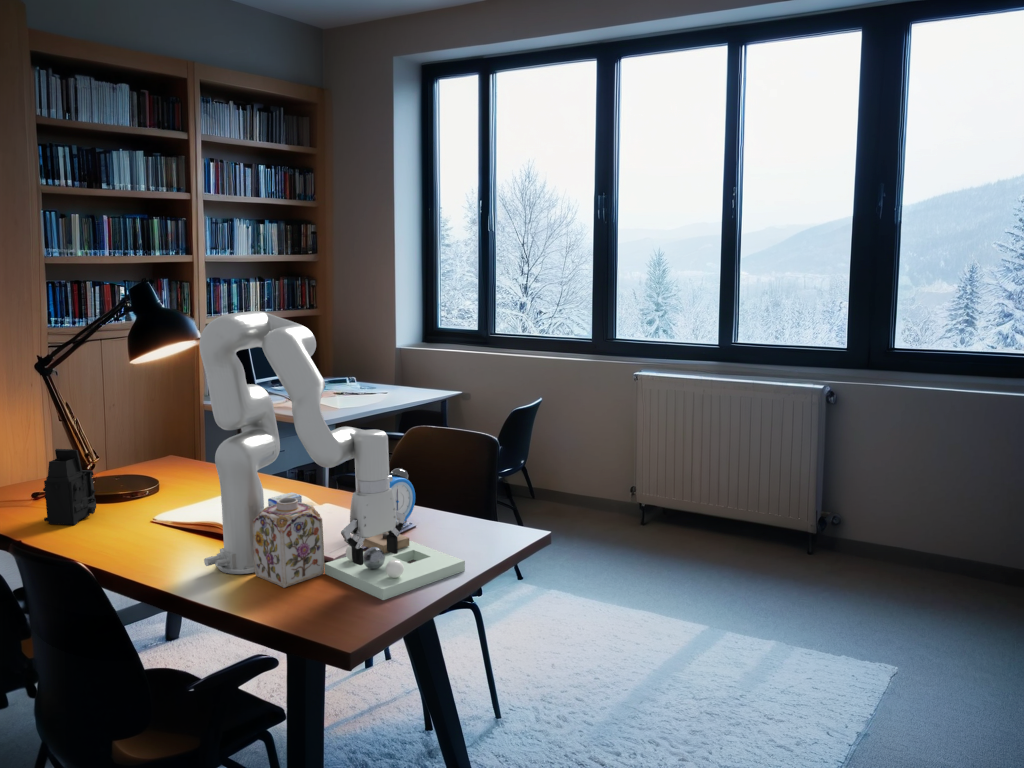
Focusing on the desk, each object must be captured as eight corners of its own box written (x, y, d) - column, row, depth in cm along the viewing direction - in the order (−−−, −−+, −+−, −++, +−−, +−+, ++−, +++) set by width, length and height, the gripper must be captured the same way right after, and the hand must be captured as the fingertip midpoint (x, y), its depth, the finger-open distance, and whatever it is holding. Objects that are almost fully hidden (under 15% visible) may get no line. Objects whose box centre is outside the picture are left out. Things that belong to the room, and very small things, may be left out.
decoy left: (352, 564, 199) (352, 548, 198) (342, 560, 201) (342, 544, 201) (366, 560, 201) (366, 544, 201) (356, 556, 204) (356, 540, 204)
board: (383, 600, 185) (383, 589, 184) (324, 573, 200) (324, 563, 199) (464, 570, 202) (464, 560, 202) (405, 548, 217) (405, 538, 217)
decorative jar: (295, 562, 207) (293, 490, 204) (326, 574, 200) (323, 499, 197) (252, 576, 198) (249, 501, 195) (282, 589, 191) (279, 511, 188)
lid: (383, 553, 205) (383, 541, 205) (363, 545, 210) (362, 533, 210) (409, 545, 211) (409, 533, 210) (389, 537, 216) (388, 526, 216)
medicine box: (293, 522, 237) (291, 491, 236) (303, 525, 235) (302, 494, 233) (268, 529, 231) (267, 498, 230) (278, 532, 229) (277, 501, 227)
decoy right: (393, 582, 188) (393, 564, 188) (382, 577, 191) (381, 560, 190) (407, 577, 191) (407, 560, 191) (396, 572, 194) (396, 555, 193)
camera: (105, 511, 246) (100, 443, 243) (76, 526, 233) (71, 454, 230) (72, 510, 247) (66, 442, 244) (42, 525, 234) (35, 453, 231)
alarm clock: (382, 531, 229) (381, 477, 227) (366, 527, 233) (365, 473, 231) (416, 519, 240) (415, 467, 237) (400, 515, 243) (399, 464, 241)
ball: (372, 574, 193) (371, 553, 192) (358, 568, 196) (358, 547, 195) (389, 568, 196) (389, 547, 196) (376, 563, 200) (375, 542, 199)
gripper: (392, 474, 202) (395, 544, 204) (330, 490, 190) (334, 564, 192) (413, 480, 197) (415, 552, 199) (350, 496, 184) (354, 572, 187)
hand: (375, 558), depth 196 cm, fingers open, 9 cm apart
